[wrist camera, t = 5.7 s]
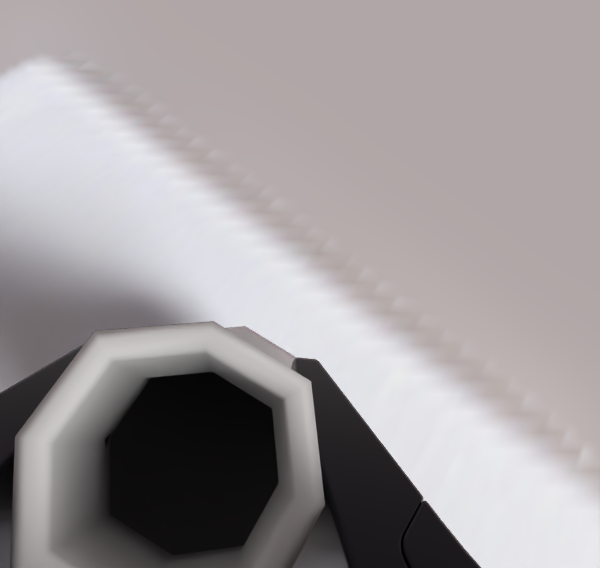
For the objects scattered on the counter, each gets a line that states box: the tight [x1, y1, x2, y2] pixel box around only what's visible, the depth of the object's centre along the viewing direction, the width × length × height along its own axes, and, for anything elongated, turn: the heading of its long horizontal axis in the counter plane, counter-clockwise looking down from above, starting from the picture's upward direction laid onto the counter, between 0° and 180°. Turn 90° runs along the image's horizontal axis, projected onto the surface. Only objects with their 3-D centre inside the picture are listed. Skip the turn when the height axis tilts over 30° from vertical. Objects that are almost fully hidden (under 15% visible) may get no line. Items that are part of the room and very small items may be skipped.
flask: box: [10, 321, 325, 568], centre depth 10 cm, size 7×7×10 cm
